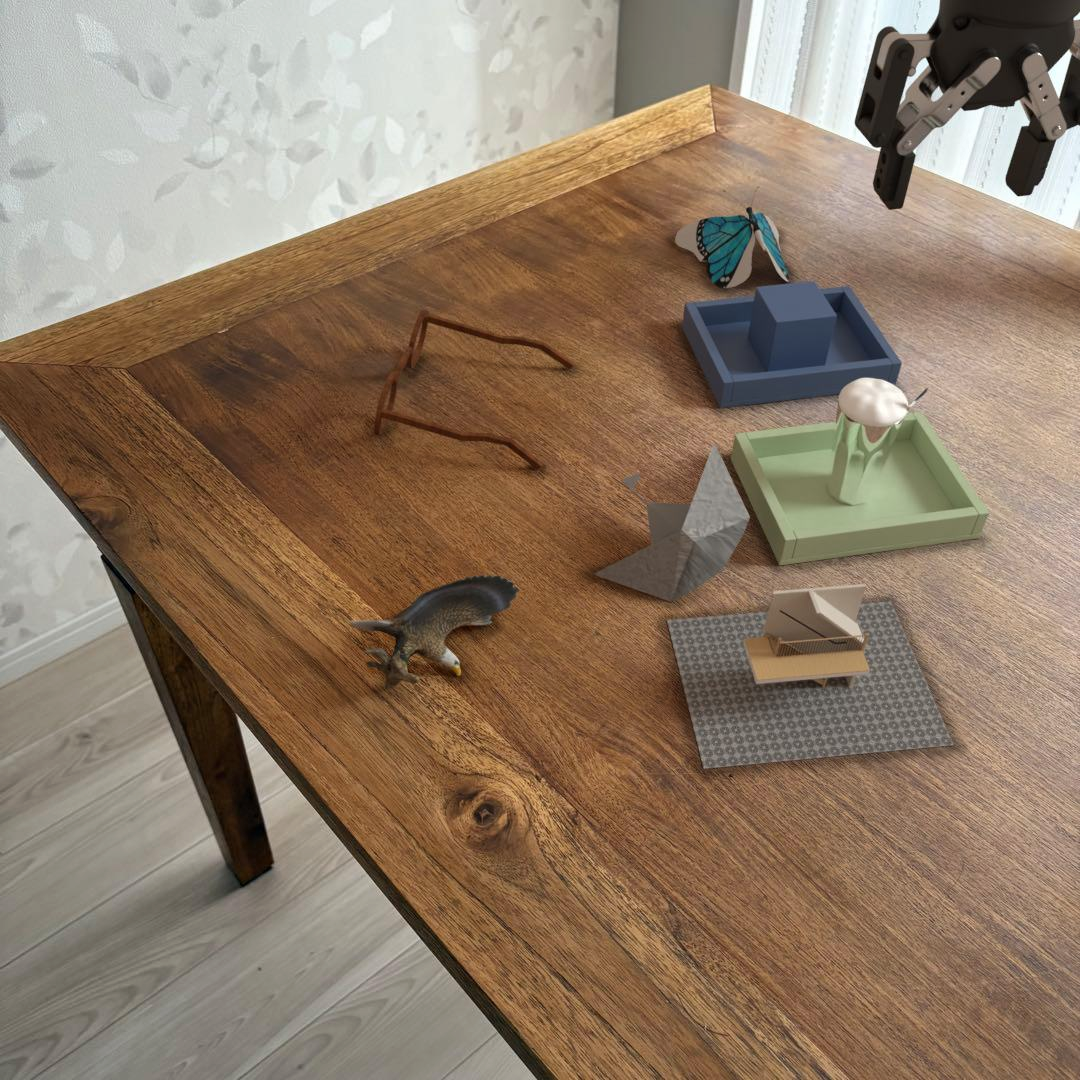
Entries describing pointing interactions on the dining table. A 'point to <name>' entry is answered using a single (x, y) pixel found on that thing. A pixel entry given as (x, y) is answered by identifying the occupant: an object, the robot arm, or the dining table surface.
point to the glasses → (411, 362)
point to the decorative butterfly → (732, 245)
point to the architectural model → (804, 680)
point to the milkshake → (864, 437)
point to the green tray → (845, 530)
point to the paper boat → (685, 537)
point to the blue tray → (744, 380)
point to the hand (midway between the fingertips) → (954, 196)
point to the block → (791, 326)
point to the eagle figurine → (437, 623)
